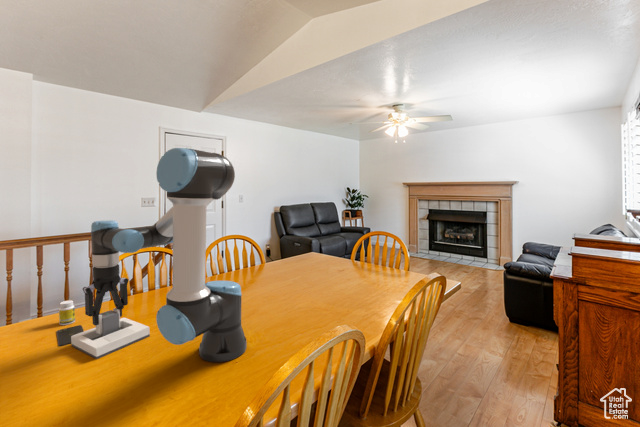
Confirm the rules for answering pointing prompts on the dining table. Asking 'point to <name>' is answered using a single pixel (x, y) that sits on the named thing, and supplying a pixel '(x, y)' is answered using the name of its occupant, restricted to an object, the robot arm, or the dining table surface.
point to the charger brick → (110, 322)
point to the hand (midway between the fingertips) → (108, 329)
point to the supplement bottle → (66, 312)
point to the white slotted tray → (110, 338)
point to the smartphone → (67, 334)
